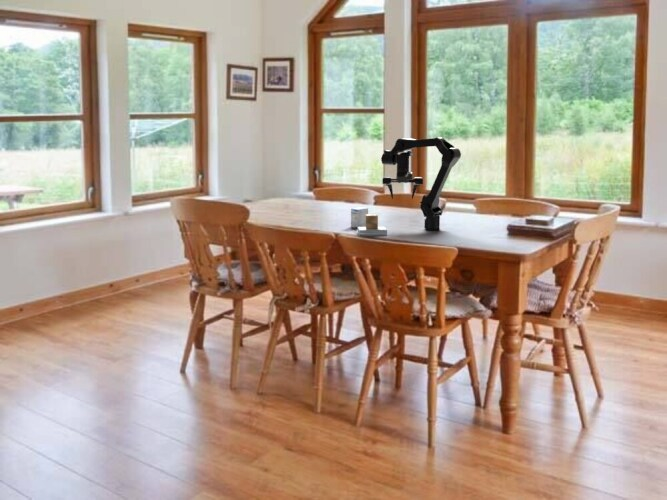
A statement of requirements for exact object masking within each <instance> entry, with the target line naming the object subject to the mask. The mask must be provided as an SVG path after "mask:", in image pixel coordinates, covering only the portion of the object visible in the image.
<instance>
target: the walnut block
mask: <svg viewBox="0 0 667 500" xmlns="http://www.w3.org/2000/svg"><path fill="white" fill-rule="evenodd" d="M365 227H366V229H378V227H379V214H378V213H368V214H367V215H366V226H365Z"/></svg>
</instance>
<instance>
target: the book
mask: <svg viewBox="0 0 667 500" xmlns="http://www.w3.org/2000/svg"><path fill="white" fill-rule="evenodd" d="M357 234H358V235H359V236H360V235H362V236H388V229H387V228H386V227H385V226H378V229H366V226H364V227H358V228H357Z"/></svg>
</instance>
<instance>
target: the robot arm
mask: <svg viewBox="0 0 667 500" xmlns="http://www.w3.org/2000/svg"><path fill="white" fill-rule="evenodd" d="M425 147H426V148H427V147H435V148H437V150H438V152H439V153H440V154H441V166H440V168H439V170H438V172H437V175H436V177H435V180H434V181H433V184H432V187H431V189H430V191H429V193H428V194H423V196H422V199H421V201H420V203H419V204H420V206H419V207H420V210H421V212H422V214H423V217H425V218H424V221H423V222H424V224H423V226H424V228H423V229H424V230H425V231H440V230H441V227H440V225H441V224H440V222H441V216H442V215H443V210H442V209H441V208H440V206H439V204H440V195H441V193H442V192H443V191H442V190H443V188H444V186H445V185H446V182H447V179H448V177H449V175H450V172H451V170H452V169H453V167H454V166H455V165H456V164H457V163H458V162H459V160H460V159H461V156H462V153H461V151H460V149H459V148H458V147H455V146H454V145H453V144H452V143H450V142H448V141H447V140H446V139H445V138H443V137H441V136H439V137H433V138H424V139H423V138H420V139H415V138H408V137H407V138H406V137H405V138H398V139H397V140H396V141H395V144H394V146H393V147H392V149H391V150H388V149H384V150H383V153H382V155H381V159H380V161H381V164H382V165H385V166H386V165H387V166H396V177H395V178H392V176H383V177H382V184H383V185H385V186H387V188H388V190H389V193H390V196H391V200H393V199H394V193H393V184H392V183H397V184H401V183H404V184H407V183H409V184H410V183H411V184H413V186H412V187H413V188H412V193H411V200H413V199H414V198H415V197H414V196H415V193H416V190H417V189H418V187H420V186H421V185H423V184H424V178H423V177H421V176H415V177H413V172H412V171H410V157H413V156H414V155H415V154H414V153H412V151H411V150H414V149H416V148H425Z"/></svg>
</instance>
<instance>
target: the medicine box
mask: <svg viewBox="0 0 667 500" xmlns="http://www.w3.org/2000/svg"><path fill="white" fill-rule="evenodd" d="M367 214H369V208H368V207H363V206H362V207H355V208H351V209H350V227H351V228H355V227H357V228H356V229H358V227H366V215H367Z"/></svg>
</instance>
